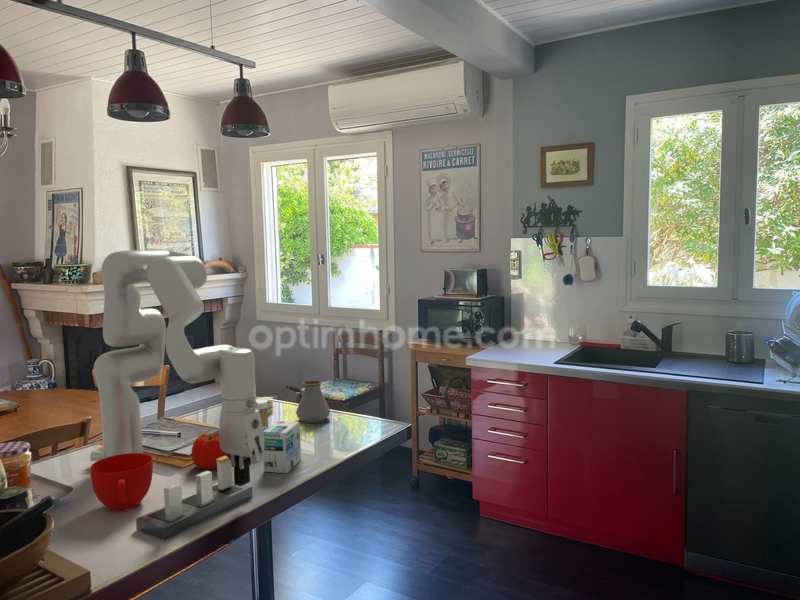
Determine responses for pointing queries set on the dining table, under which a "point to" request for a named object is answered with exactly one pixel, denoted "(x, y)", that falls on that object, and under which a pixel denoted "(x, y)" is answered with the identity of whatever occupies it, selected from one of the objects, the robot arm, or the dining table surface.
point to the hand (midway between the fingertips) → (242, 483)
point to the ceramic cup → (122, 480)
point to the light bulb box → (281, 446)
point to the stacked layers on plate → (270, 403)
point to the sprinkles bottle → (263, 412)
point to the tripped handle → (224, 472)
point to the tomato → (206, 451)
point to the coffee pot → (311, 403)
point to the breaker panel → (191, 507)
